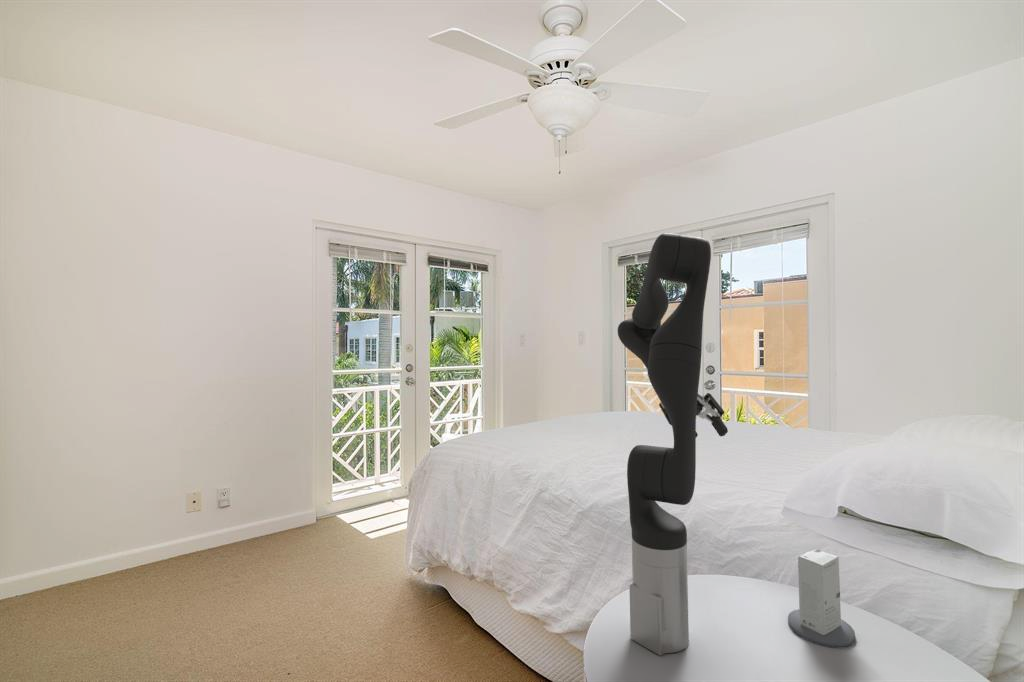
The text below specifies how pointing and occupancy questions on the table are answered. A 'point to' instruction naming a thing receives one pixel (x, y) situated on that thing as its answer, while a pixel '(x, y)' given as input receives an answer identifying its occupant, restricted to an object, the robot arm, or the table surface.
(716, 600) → the table surface
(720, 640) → the table surface
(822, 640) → the coaster mat
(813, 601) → the skincare box
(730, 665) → the table surface
